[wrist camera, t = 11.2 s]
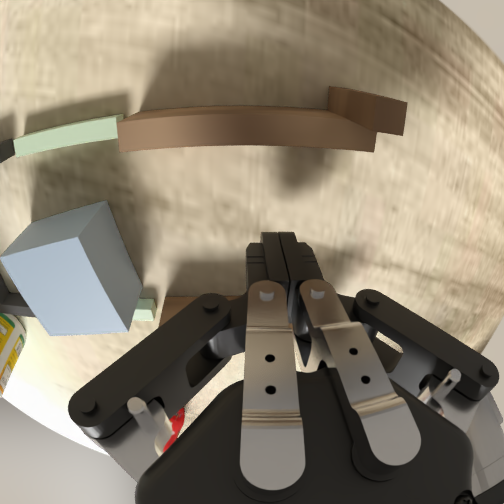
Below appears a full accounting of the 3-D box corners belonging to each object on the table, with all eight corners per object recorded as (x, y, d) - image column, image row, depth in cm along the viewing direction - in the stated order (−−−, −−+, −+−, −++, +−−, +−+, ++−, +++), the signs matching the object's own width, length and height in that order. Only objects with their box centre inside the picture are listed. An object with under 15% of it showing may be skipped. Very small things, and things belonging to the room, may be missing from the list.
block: (108, 198, 15) (77, 237, 11) (143, 284, 18) (128, 331, 15) (32, 221, 15) (-1, 257, 11) (71, 294, 18) (50, 336, 15)
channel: (352, 89, 12) (407, 102, 8) (316, 318, 20) (333, 377, 16) (137, 87, 11) (91, 98, 7) (171, 322, 20) (161, 384, 15)
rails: (123, 114, 12) (115, 117, 11) (156, 309, 19) (154, 320, 18) (23, 135, 12) (13, 139, 11) (75, 306, 18) (70, 316, 18)
